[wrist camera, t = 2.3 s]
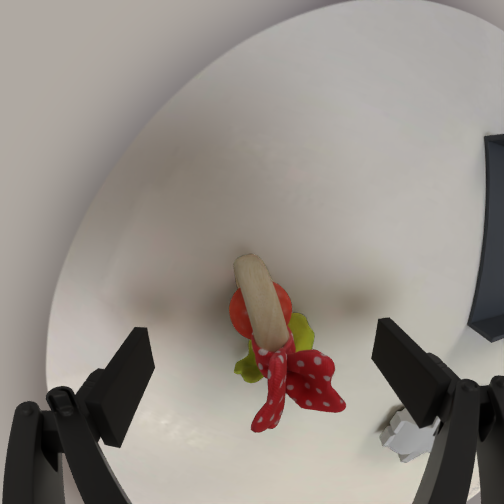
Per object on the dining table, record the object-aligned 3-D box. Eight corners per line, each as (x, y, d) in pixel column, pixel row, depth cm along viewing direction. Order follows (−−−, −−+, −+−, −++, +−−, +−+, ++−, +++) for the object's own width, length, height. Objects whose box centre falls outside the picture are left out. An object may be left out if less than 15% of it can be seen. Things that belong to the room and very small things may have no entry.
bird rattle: (207, 282, 22) (245, 393, 20) (140, 264, 11) (214, 469, 9) (286, 255, 22) (324, 368, 20) (291, 209, 11) (364, 428, 9)
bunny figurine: (421, 409, 19) (509, 405, 18) (403, 378, 24) (489, 383, 23) (373, 472, 21) (465, 461, 20) (364, 441, 26) (452, 437, 25)
